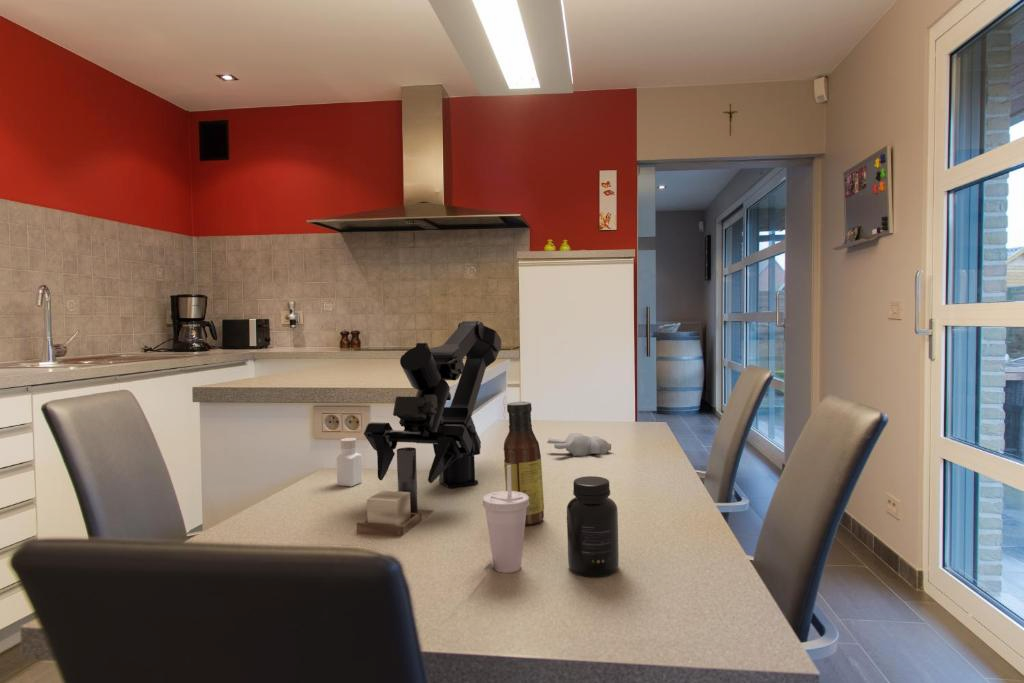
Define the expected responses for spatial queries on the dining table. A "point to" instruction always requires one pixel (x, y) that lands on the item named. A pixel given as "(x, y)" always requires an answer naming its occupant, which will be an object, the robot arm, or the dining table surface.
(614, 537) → the supplement bottle
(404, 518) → the birch block
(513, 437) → the sauce bottle
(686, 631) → the dining table surface
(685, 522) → the dining table surface
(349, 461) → the white plastic bottle
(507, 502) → the smoothie
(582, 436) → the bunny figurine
